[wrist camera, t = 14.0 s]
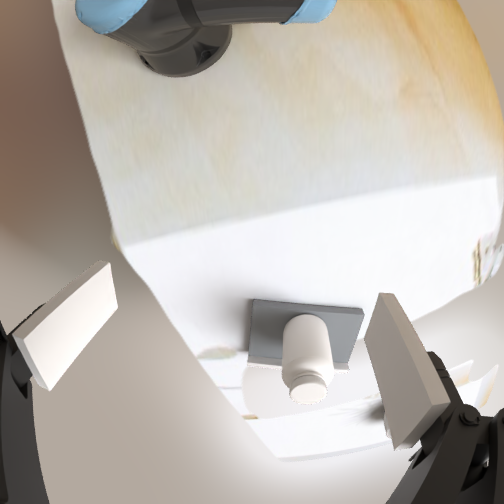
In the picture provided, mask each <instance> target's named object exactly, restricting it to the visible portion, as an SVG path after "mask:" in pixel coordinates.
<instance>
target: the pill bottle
mask: <svg viewBox="0 0 504 504" xmlns="http://www.w3.org/2000/svg"><path fill="white" fill-rule="evenodd" d="M333 375H334V366H333V360H332V354H331V348H330V342H329V336H328V330H327V327H326V324H325V323H324V321H323V320H322V319H320V318H319V317H317V316H314V315H309V314H304V315H299V316H296V317H294V318H292V319H291V320H290V321H289V322H288V323H287V324H286V326H285V328H284V332H283V356H282V379H283V381H284V383H285V385H287V387H288V388H290V393H289V394H290V397H291V399H292V400H293V401H294V402H296V403H299V404H304V405H307V404H314V403H317V402H319V401H321V400H323V399H324V398H325V396H326V394H327V385H328V384H329V383H330V382H331V380H332V378H333Z"/></svg>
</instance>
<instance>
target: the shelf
mask: <svg viewBox="0 0 504 504" xmlns="http://www.w3.org/2000/svg"><path fill="white" fill-rule="evenodd" d="M304 314H309V315H314V316H317V317H319V318H320V319H322V320H323V321H324V323H325V324H326V327H327V330H328V336H329V342H330V348H331V354H332V360H333V366H334V373H348V371H349V367H348V361H349V358H350V355H351V352H352V350H353V347H354V345H355V342H356V339H357V336H358V333H359V330H360V327H361V324H362V321H363V318H364V312H363V310H362V309H357V308H343V307H330V306H318V305H306V304H296V303H285V302H276V301H266V300H257V299H254V301H253V308H252V320H251V332H250V343H249V355H248V361H247V366H252V367H260V368H270V369H280V370H282V356H283V332H284V328H285V326H286V324H287V323H288V322H289V321H290V320H291V319H292V318H294V317H296V316H299V315H304Z"/></svg>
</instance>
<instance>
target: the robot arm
mask: <svg viewBox="0 0 504 504" xmlns="http://www.w3.org/2000/svg"><path fill="white" fill-rule="evenodd" d="M336 2H337V0H76V2H75V10H76V14H77V17H78V19H79V20H80V21H81V22H82V23H83V24H85V25H87V26H88V27H90V28H92V29H93V30H94V31H95V32H96V33H98V34H104V35H106V36H108V37H111V38H113V39H115V40H118V41H120V42H122V43H124V44H126V45H129V46H131V47H133V48H135V49H136V50H137V52H138V54H139V55H140V58H141V59H142V61H143V62H144V64H145V65H146V66H147V67H149V68H150V69H151V70H153V71H155V72H157V73H159V74H161V75H164V76H168V77H186V76H191V75H194V74H197V73H199V72H201V71H203V70H205V69H207V68H209V67H210V66H211V65H213V64H214V63H215V62H216V61H217V60H219V58H220V57H221V56H222V55H223V54H224V52H225V51H226V49H227V48H228V46H229V43H230V40H231V37H232V25H231V24H243V23H279V24H282V25H286V24H289V23H317V22H320V21H322V20H323V19H325V18H326V17H328V16H329V14H330V13H331V12H332V10H333V8H334V6H335V4H336ZM117 308H118V305H117V301H116V296H115V290H114V285H113V279H112V273H111V266H110V262H104V261H97V262H96V263H95V264H93V265H92V266H91V267H89V268H88V269H87V270H86V271H84V272H83V273H82V274H80V275H79V276H78V277H77V278H75V279H74V280H73V281H72V282H71V283H69V284H68V285H67V286H66V287H64V288H63V289H62V290H61V291H60V292H58V293H57V294H56V295H55V296H54V297H52V298H51V299H50V300H49V301H48V302H47V303H45V304H43V305H41V306H39V307H38V308H37V309H36V310H34V311H33V312H32V314H30V315H29V316H28V317H27V319H24V320H23V321H22V322H21V323H20V324H19V325H18V326H17V327H16V328H15V329H14V330H12V331H11V332H10V333H9V334H8V335H6V333H5V331H4V328H3V326H2V324H1V321H0V504H49V500H48V496H47V493H46V489H45V485H44V481H43V476H42V472H41V468H40V462H39V456H38V450H37V443H36V435H35V427H34V416H33V401H32V384H31V381H30V377H32V375H33V377H34V378H35V380H36V381H37V383H38V385H40V386H41V387H43V388H45V389H47V390H49V391H51V389H52V388H53V387H54V385H55V384H56V383H57V382H58V380H59V379H60V378H61V376H62V375H63V374H64V372H65V371H66V370H67V369H68V367H69V366H70V365H71V363H72V362H73V361H74V360H75V358H76V357H77V356H78V355H79V353H80V352H81V351H82V350H83V349H84V347H85V346H86V345H87V344H88V342H89V341H90V340H91V339H92V338H93V336H94V335H95V334H96V333H97V332H98V330H99V329H100V328H101V327H102V326H103V325H104V323H105V322H106V321H107V320H108V319H109V317H110V316H111V315H112V314H113V313H114V312H115V311H116V309H117ZM364 341H365V344H366V347H367V350H368V353H369V356H370V360H371V363H372V366H373V369H374V373H375V376H376V380H377V383H378V387H379V391H380V394H381V398H382V402H383V405H384V409H385V413H386V417H387V421H388V425H389V429H390V433H391V438H392V442H393V446H394V450H401V449H407V448H412V447H413V446H414V445H415V444H416V443H417V442H418V441H419V440H420V441H421V445H422V447H421V448H420V449H419V450H418V451H417V452H416V453H415V454H414V455H413V456H412V457H411V458H410V459H409V461H412V460H413V461H412V463H411V465H410V466H409V468H408V470H407V471H406V473H405V475H404V477H403V478H402V480H401V481H400V483H399V485H398V486H397V488H396V489H395V491H394V492H393V494H392V495H391V497H390V498H389V500H388V501H387V502H386V504H504V408H503V409H501V410H500V411H499V412H498V413H497V414H496V415H495V416H494V417H487V416H481V415H480V413H479V412H478V410H477V409H476V408H474V407H473V406H471V405H468V404H463V402H462V400H461V398H460V395H459V393H458V391H457V389H456V387H455V385H454V383H453V381H452V379H451V378H450V375H449V373H448V371H447V370H446V368H445V366H444V364H443V362H442V360H441V359H440V358H439V357H438V356H437V355H436V354H435V353H434V352H432V351H431V352H426V350H425V348H424V346H423V344H422V342H421V341H420V339H419V337H418V335H417V333H416V331H415V330H414V328H413V326H412V324H411V322H410V321H409V319H408V317H407V315H406V314H405V312H404V310H403V309H402V307H401V305H400V304H399V302H398V300H397V299H396V297H395V295H394V294H391V293H379V296H378V299H377V302H376V305H375V308H374V311H373V314H372V317H371V320H370V323H369V326H368V329H367V332H366V334H365V337H364ZM488 459H489V463H488V466H487V460H488Z"/></svg>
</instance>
